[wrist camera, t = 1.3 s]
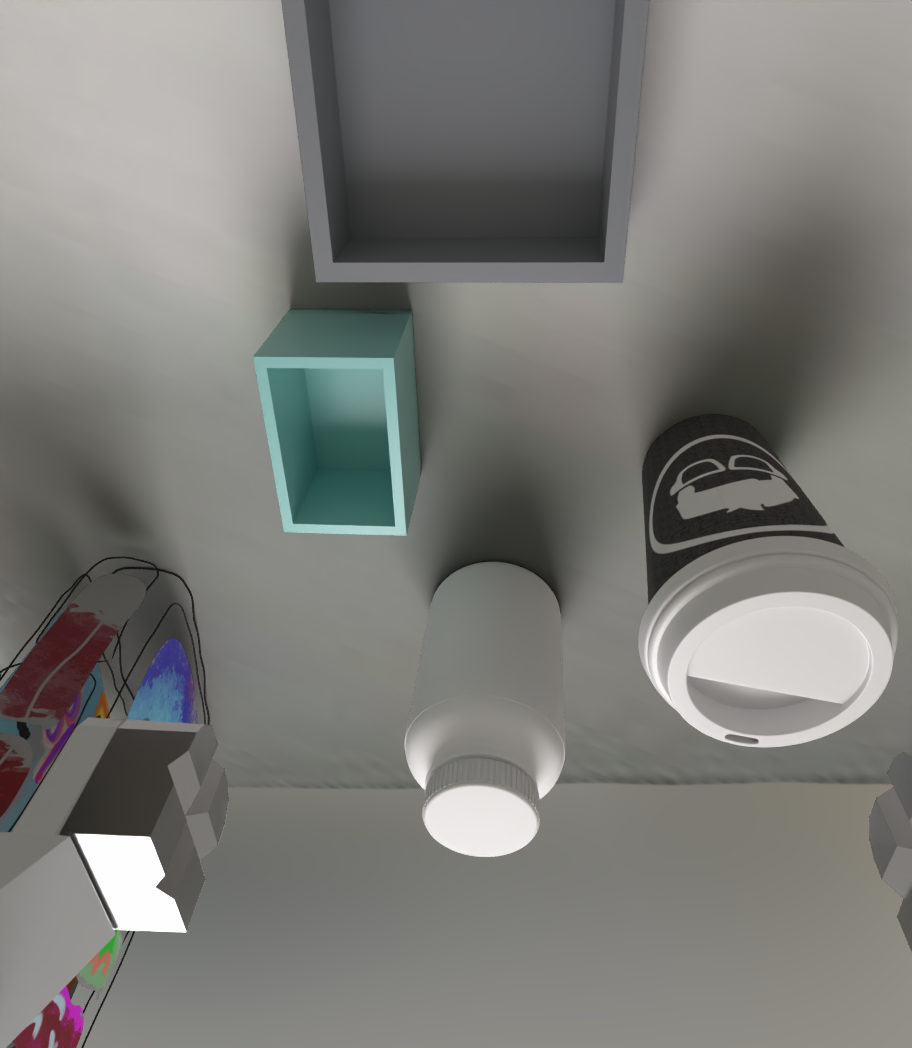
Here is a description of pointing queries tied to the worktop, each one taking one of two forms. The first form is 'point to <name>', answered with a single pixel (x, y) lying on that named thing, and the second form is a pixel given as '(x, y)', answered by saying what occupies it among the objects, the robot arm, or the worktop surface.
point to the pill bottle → (488, 708)
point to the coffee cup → (754, 594)
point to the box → (51, 717)
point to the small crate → (342, 419)
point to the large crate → (467, 136)
